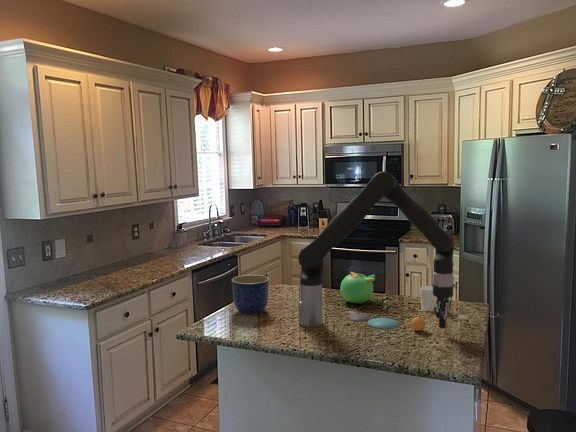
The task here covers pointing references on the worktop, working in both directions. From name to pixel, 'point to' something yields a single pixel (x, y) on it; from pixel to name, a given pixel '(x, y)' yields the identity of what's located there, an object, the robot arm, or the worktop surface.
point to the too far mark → (358, 318)
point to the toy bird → (357, 287)
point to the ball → (418, 324)
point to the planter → (250, 293)
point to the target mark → (383, 323)
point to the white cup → (427, 298)
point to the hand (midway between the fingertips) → (442, 327)
